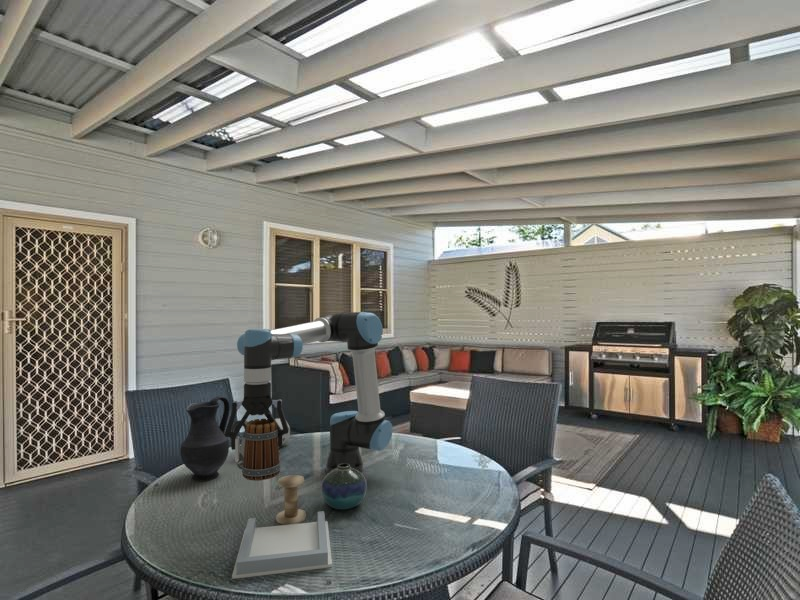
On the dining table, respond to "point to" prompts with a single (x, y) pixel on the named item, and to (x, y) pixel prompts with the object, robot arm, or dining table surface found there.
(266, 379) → the robot arm
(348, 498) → the vase
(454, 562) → the dining table surface
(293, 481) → the bobbin
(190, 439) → the pitcher
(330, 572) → the dining table surface
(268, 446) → the mug
